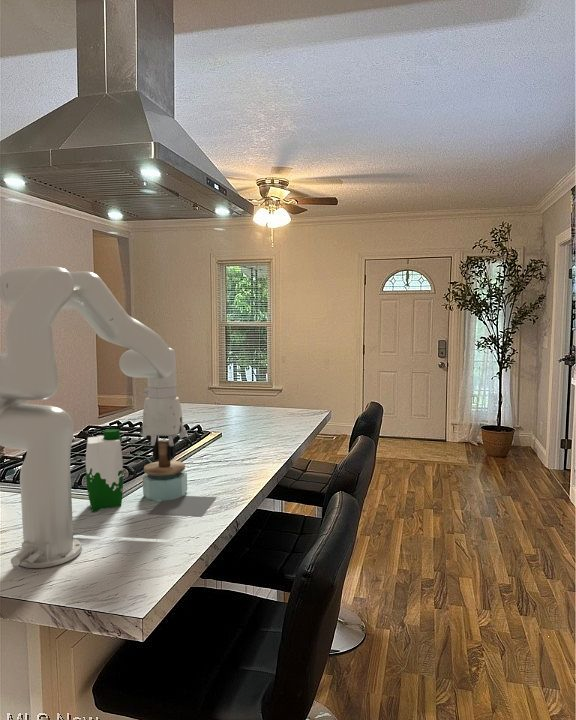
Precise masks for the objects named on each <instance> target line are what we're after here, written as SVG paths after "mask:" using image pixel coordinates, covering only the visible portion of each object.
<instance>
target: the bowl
mask: <svg viewBox="0 0 576 720" xmlns="http://www.w3.org/2000/svg"><path fill="white" fill-rule="evenodd" d="M187 491H188V472H187V471H185V470H183V471H182V472H179V473H176V474H171V475H149V474H146V473H145V474H144V475H143V476H142V494H143V495H144V497H145V498H146V499H147V500H149V501H155V502H161V501H166V500H173V499H177V498H180V497H182V496H186V493H187Z"/></svg>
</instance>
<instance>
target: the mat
mask: <svg viewBox="0 0 576 720" xmlns="http://www.w3.org/2000/svg"><path fill="white" fill-rule="evenodd" d="M217 498H218V496H199V495H197V496H196V495H195V496H193V495H184V496H182V497H180V498H177V499H173V500H166V501H159V502H158V503H157V505H155V507H154V508H152V509H151V510H150V511H149V512H148V513H147V515H154V516H174V517H175V516H177V517H178V516H179V517H198V518H199V517H200V518H202V517H203V516H204V515H205V514H206V512H208V510H209V509H210V507H211V506H212V504H213V503H214V502H215V501H216V500H217Z"/></svg>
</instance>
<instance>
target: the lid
mask: <svg viewBox="0 0 576 720" xmlns="http://www.w3.org/2000/svg"><path fill="white" fill-rule="evenodd" d="M168 446H169V439H159V441H158V460H157V461H155V462H150V463H147V464H145V465H144V467H143V472H144V474H145V475H146V474H149V475H171V474H176V473H179V472H182V471H185V470H186V464H185V463H184V462H183V461H179V460H171V461H169V460H168V451H167V447H168Z"/></svg>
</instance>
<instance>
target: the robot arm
mask: <svg viewBox="0 0 576 720" xmlns="http://www.w3.org/2000/svg"><path fill="white" fill-rule="evenodd" d="M0 301H1V302H2V303H3V304H4V305H5V306H8V307H9V308H11V310H10V311H9V313H8V314H7V318H6V322H5V330H4V331H5V332H4V333H5V334H4V335H5V336H4V337H5V345H6V352H4V353H0V447H4V448H6V449H13V450H21V451H26V455H25V457H24V460H23V463H22V465H21V468H20V473H19V484H20V485H19V486H20V499H21V500H20V502H21V519H22V537H23V541H22V542H21V548H20V549H19V550H18V551H17V552H16V555H14V556H12V558H11V559H10V563H11V566H13V567H17V566H21V567H23V568H29V569H44V568H52V567H55V566H59V565H62V564H65V563H67V562H70V561H72V560H73V559H75V558H77V556H79V555H80V553H81V552H82V550H83V547H82V546H83V545H82V542H81V541H80V540H78V539H76V538H74V525H73V524H74V523H73V522H74V520H73V503H72V501H73V500H72V499H73V498H72V481H71V453H72V452H71V451H72V443H73V438H74V427H75V426H74V421H73V419H72V417H71V415H70V414H69V413H68V412H67V411H65V410H64V409H63V408H60V407H57V406H53V405H45V404H44V405H43V404H35V403H33V404H32V403H31V404H29V403H28V401H44V400H48V399H50V398H51V397H53V396H54V395H55V394H56V393H57V391H58V388H59V372H58V363H57V358H56V357H57V356H56V351H55V345H54V335H53V328H54V327H53V326H54V323H55V320H56V318H57V316H58V314H59V312H60V311H61V310H75V311H76V312H78V313H79V314H80V316H81V317H82V318H83V320H85V321H86V323H87V324H88V326H90V327H91V329H92V330H93V331H94V332H95V334H96V335H97V336H98V337H99V338H100V339H102V340H104V341H107V342H108V343H110V344H113V345H117V346H121V347H123V348H127V349H128V350H126V351H124V352H123V353H122V354H121V356H120V358H119V361H118V365H119V369H120V371H121V372H122V373H123V374H124V375H125V376H127V377H130V378H137V379H139V378H141V379H147V387H146V388H144V389H143V390H142V391H143V394H146V395H147V397H146V398H145V399H144V404H143V410H142V428H141V430H140V432H139V435H140V436H141V437H142V438H144V439H146V440H147V441H148V443H150V445H151V446H152V457H153V461H159V460H158V441H159V440H160V436H163V437H164V436H165V437H167V440H169V446H168V447H167V451H168V460H169V461H173V460H174V459H175V457H176V444H177V443H178V442H179V441H180V440H182V439H183V438H185V437H186V436H188V431H187V430H186V428H185V426H184V422H183V412H182V405H181V401H180V398H179V397H178V396H177V365H176V361H177V360H176V352H175V349H173V348H171V347H169V346H168V345H167V343H166V341H165V340H164V339H163V338H162V337H161V335H160V334H158V332H155V330H153V329H151V328H150V327H148V326H147V325H145V324H144V323H142V322H140V321H139V320H138V319H135V318H134V317H132V316H130V315H129V314H128V313H127V311H126V310H125V309H124V307H123V306H122V305H121V304H120V302H119V300H118V299H117V298H116V297H115V295H114V294H113V293H112V291H111V290H110V288H109V287H108V286H107V285H106V283H105V282H104V281H103V279H102V278H101V277H100V276H99V275H98V274H96V273H94V272H92V271H68V270H67V269H66V268H63V267H60V266H56V265H40V266H29V267H27V266H25V267H13V268H8V269H7V270H5V271H3V272H1V273H0ZM179 433H180V434H179Z"/></svg>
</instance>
